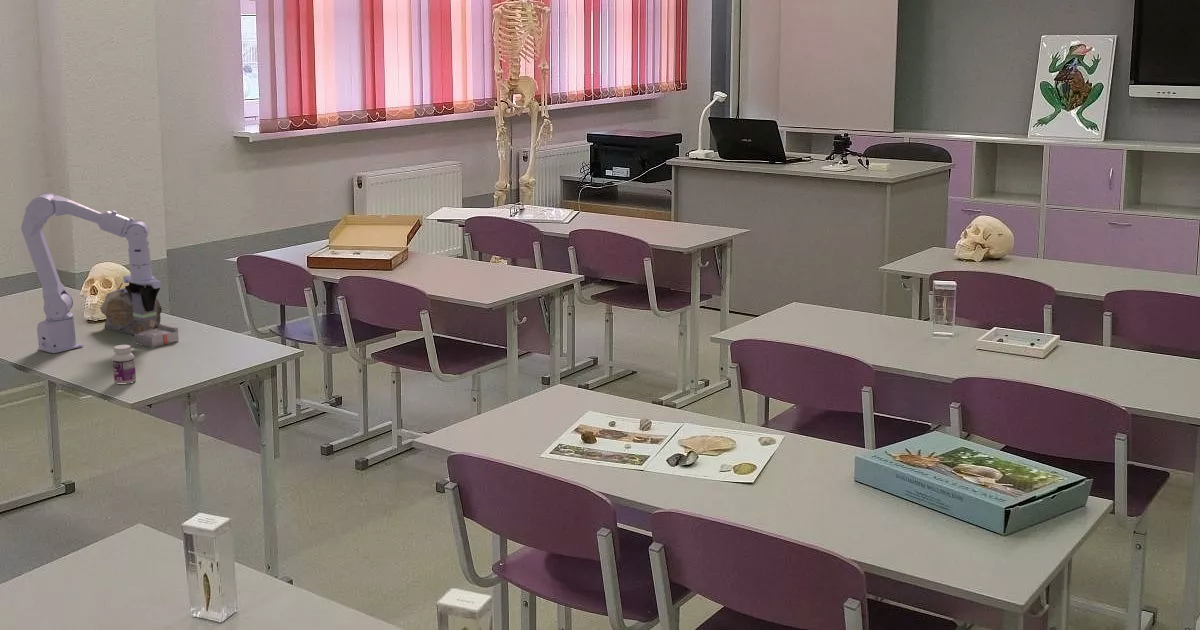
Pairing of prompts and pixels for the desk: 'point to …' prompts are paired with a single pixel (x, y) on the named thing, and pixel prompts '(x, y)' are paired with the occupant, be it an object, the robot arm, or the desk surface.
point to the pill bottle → (123, 364)
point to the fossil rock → (126, 313)
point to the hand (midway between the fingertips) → (144, 309)
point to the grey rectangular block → (141, 308)
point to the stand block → (157, 336)
